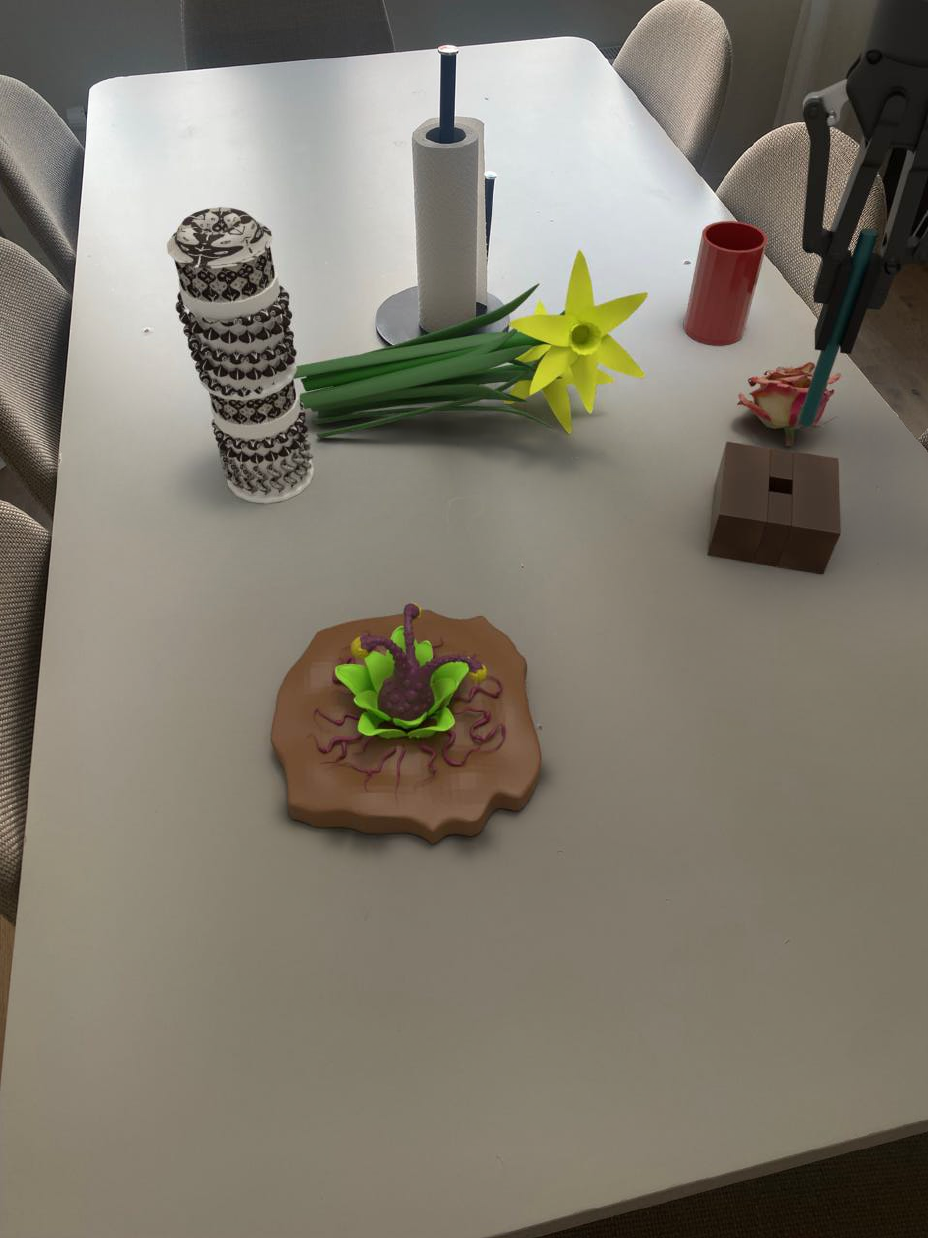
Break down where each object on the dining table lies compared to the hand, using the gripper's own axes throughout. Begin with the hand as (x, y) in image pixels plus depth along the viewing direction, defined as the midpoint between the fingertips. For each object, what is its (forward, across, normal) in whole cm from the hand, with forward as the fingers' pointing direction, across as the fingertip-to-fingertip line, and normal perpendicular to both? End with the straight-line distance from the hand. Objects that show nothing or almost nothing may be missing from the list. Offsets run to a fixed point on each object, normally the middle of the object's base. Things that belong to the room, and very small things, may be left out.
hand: (832, 341), depth 69 cm
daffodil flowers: (+19, +31, -7) cm, 37 cm away
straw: (+7, 0, 0) cm, 7 cm away
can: (+19, +7, -32) cm, 38 cm away
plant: (+19, +26, +29) cm, 44 cm away
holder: (+19, 0, 0) cm, 19 cm away
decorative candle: (+19, +47, +4) cm, 51 cm away
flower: (+20, 0, -15) cm, 25 cm away
